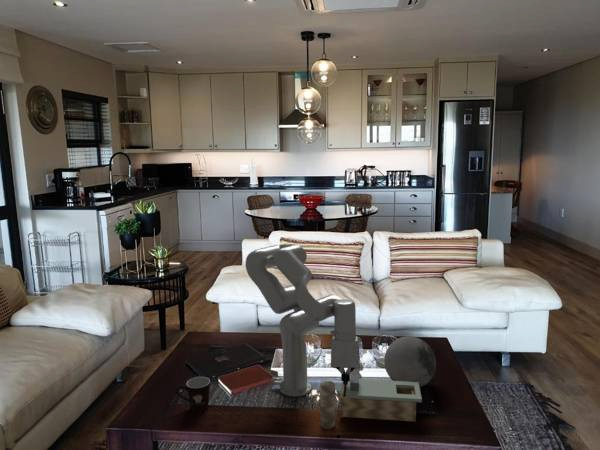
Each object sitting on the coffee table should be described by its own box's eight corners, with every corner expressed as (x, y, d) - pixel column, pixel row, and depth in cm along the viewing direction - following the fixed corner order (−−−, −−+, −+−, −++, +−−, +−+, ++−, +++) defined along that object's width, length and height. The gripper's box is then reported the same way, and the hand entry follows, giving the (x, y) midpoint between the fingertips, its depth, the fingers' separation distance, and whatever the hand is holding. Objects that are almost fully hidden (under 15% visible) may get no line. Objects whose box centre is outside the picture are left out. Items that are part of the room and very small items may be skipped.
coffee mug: (215, 403, 180) (214, 378, 178) (203, 415, 172) (202, 389, 170) (188, 398, 184) (187, 374, 182) (176, 410, 176) (174, 384, 174)
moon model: (390, 399, 180) (390, 349, 177) (379, 374, 200) (380, 329, 197) (442, 397, 181) (443, 348, 178) (426, 373, 201) (427, 328, 197)
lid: (345, 397, 166) (345, 386, 166) (347, 381, 178) (347, 370, 177) (421, 402, 163) (422, 390, 162) (418, 385, 174) (418, 374, 174)
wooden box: (340, 419, 168) (340, 398, 167) (342, 401, 180) (342, 381, 178) (415, 424, 164) (416, 402, 163) (412, 405, 176) (413, 385, 175)
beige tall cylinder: (320, 428, 162) (319, 387, 160) (321, 420, 167) (320, 380, 165) (334, 429, 162) (334, 388, 159) (335, 421, 167) (335, 381, 164)
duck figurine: (353, 399, 185) (371, 378, 183) (338, 387, 185) (355, 366, 183) (354, 384, 197) (371, 364, 194) (340, 372, 197) (356, 353, 195)
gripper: (323, 338, 166) (324, 386, 169) (366, 339, 164) (366, 389, 167) (325, 330, 174) (326, 377, 176) (366, 331, 171) (366, 379, 174)
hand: (345, 382), depth 172 cm, fingers closed
